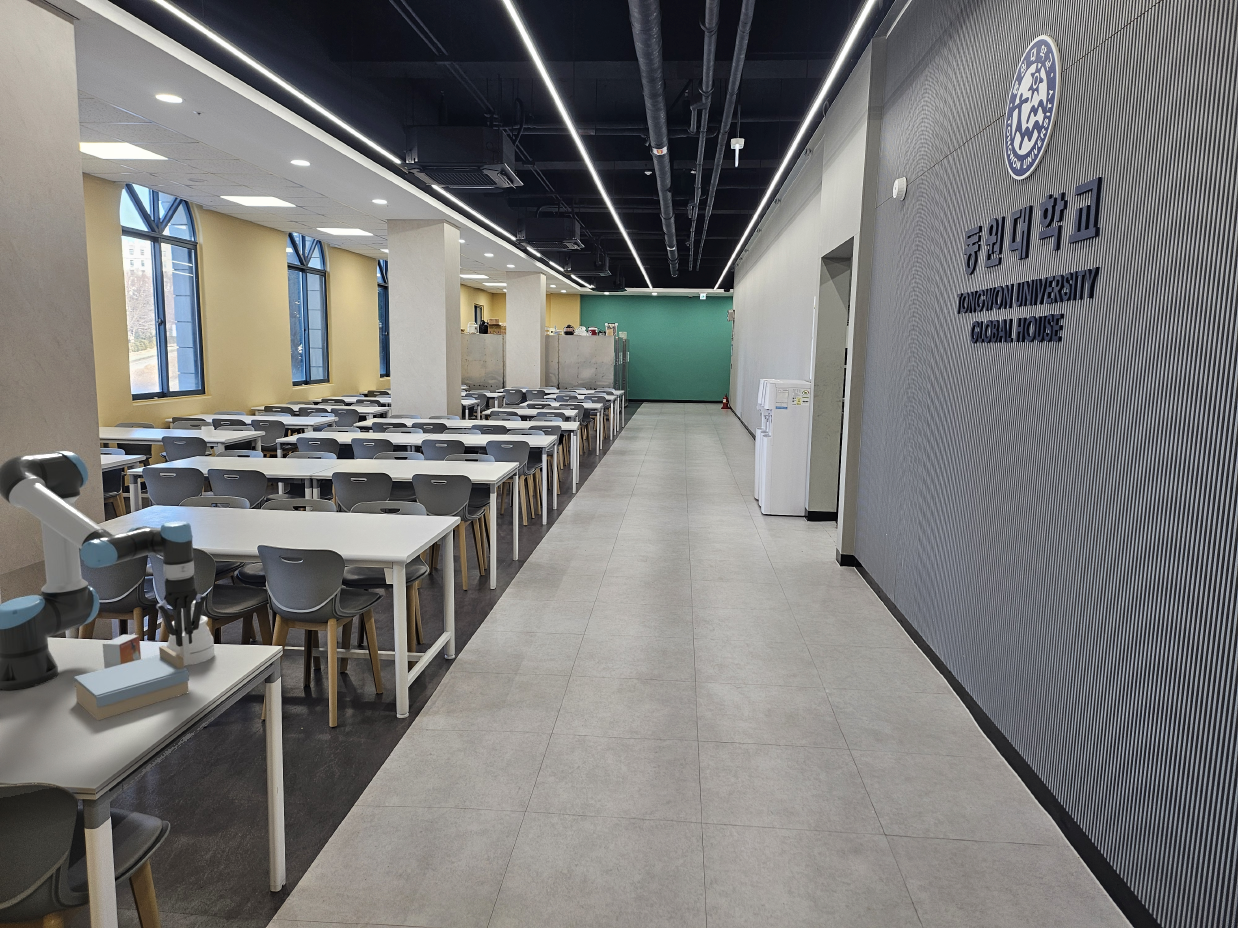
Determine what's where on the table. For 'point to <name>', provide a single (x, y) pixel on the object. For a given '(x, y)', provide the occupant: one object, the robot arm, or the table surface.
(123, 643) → the small box
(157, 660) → the lid
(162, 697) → the tray
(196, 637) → the honey pot
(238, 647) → the table surface
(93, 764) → the table surface
